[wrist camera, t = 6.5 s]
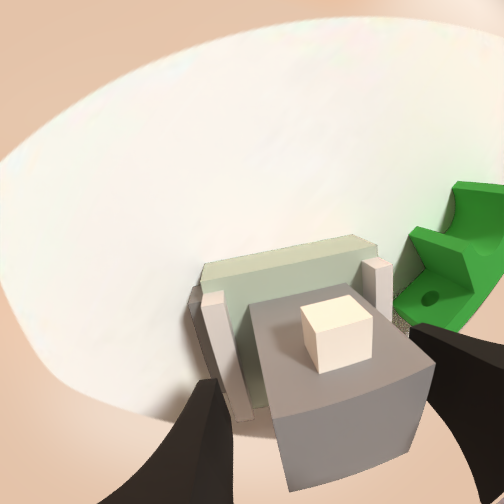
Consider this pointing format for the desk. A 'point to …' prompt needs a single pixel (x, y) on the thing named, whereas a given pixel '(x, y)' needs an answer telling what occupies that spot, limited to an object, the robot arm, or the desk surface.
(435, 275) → the pipe clamp
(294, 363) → the dark grey block
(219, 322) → the pale grey-green blocky piece
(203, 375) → the desk surface
